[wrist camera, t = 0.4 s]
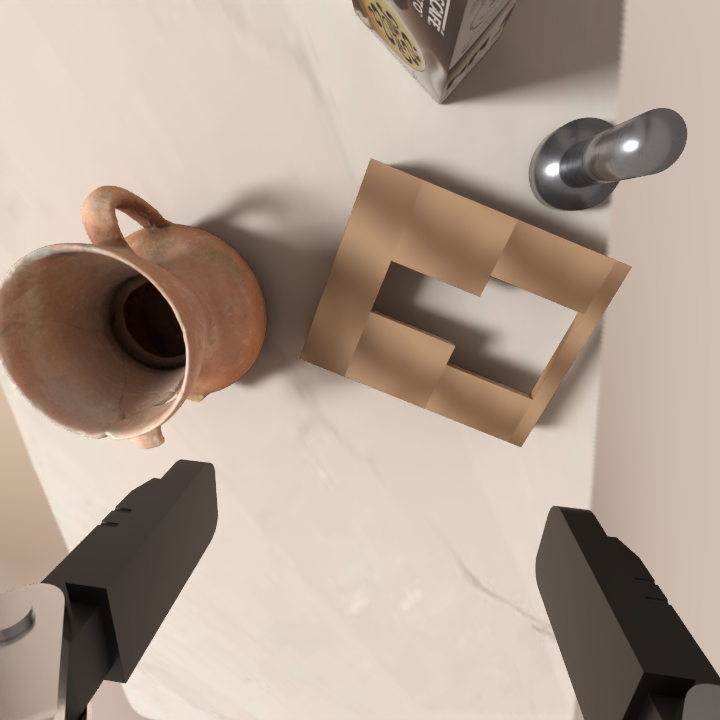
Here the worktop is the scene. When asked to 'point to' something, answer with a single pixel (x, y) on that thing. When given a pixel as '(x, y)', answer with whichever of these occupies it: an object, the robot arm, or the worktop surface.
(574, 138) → the peg
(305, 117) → the worktop surface
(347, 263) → the keyhole plate
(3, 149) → the worktop surface
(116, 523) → the robot arm
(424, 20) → the coffee box
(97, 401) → the ceramic jug
